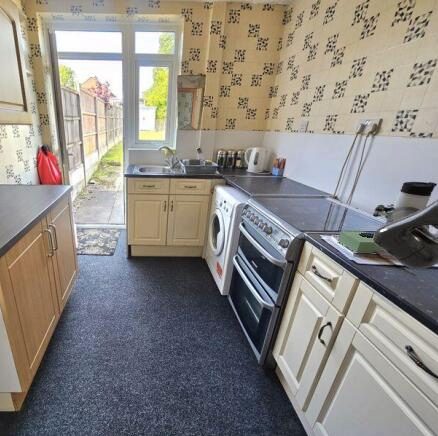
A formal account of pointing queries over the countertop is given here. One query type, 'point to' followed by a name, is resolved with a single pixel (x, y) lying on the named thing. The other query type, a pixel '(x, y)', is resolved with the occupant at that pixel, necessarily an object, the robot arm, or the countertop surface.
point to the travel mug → (414, 194)
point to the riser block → (358, 242)
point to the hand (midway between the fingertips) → (406, 210)
